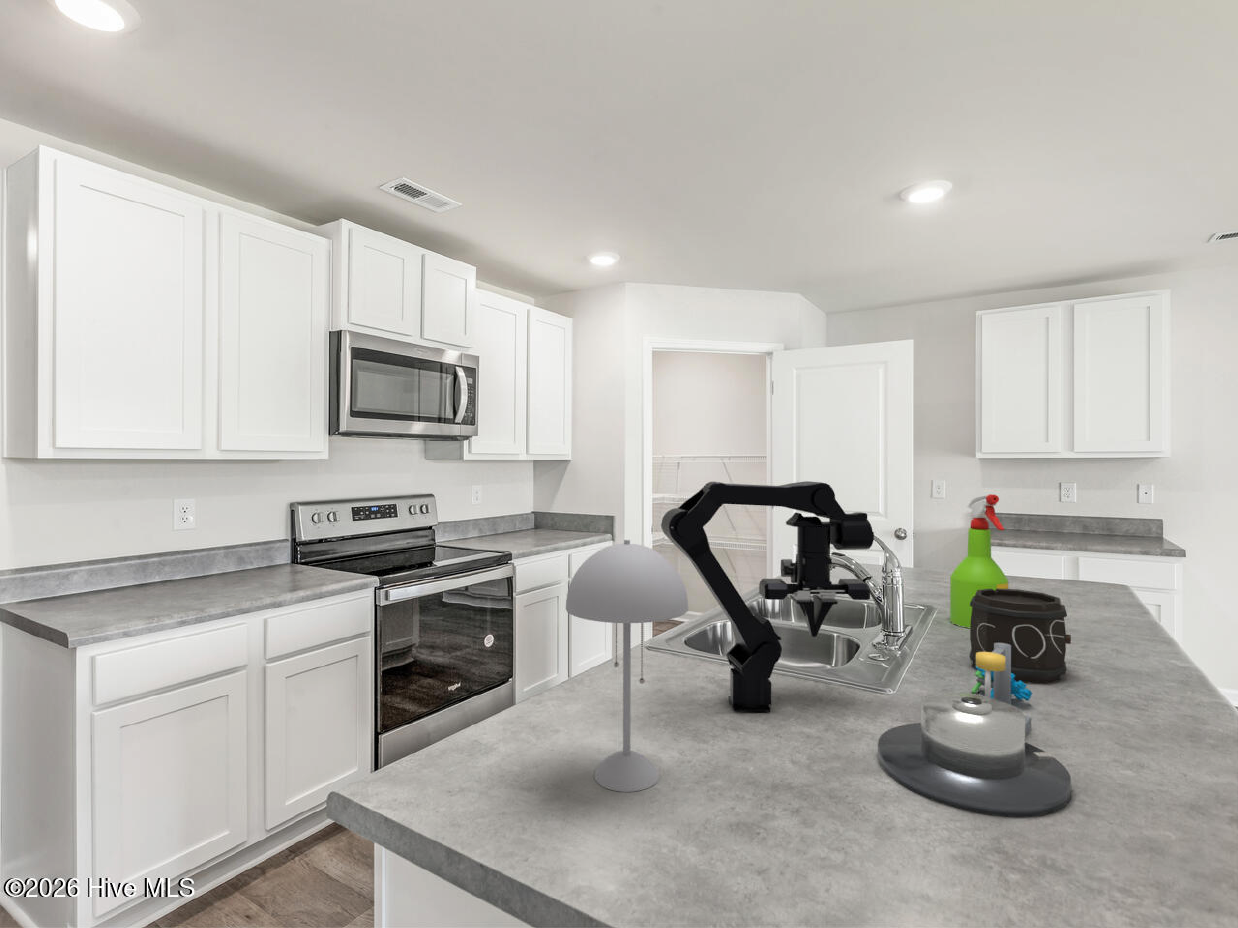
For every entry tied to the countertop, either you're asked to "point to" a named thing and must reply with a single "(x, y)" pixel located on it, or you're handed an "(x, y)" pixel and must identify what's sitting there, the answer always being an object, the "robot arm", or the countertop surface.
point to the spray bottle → (976, 562)
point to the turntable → (975, 779)
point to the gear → (1016, 687)
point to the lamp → (627, 631)
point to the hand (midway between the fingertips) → (813, 636)
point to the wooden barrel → (1021, 631)
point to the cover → (973, 735)
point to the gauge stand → (999, 674)
